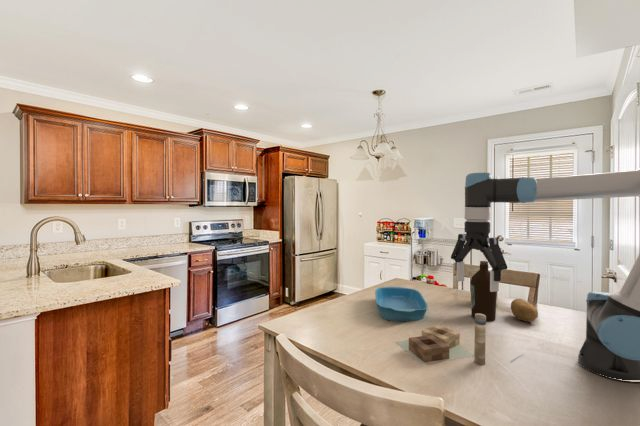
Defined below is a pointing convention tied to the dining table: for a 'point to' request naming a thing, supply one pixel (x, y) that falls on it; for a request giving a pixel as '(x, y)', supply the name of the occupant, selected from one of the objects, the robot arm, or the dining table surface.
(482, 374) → the dining table surface
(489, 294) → the olive oil
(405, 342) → the pale green flat mat
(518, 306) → the potato
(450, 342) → the light wooden square frame
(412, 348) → the brown square wooden frame
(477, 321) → the banded wooden cylinder
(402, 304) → the casserole dish
